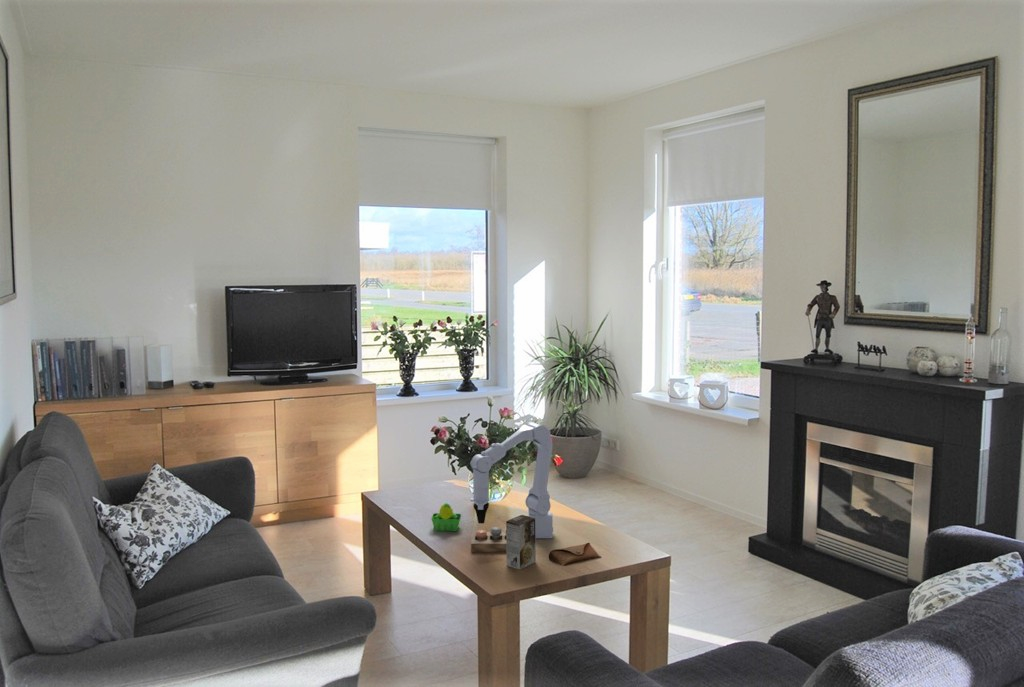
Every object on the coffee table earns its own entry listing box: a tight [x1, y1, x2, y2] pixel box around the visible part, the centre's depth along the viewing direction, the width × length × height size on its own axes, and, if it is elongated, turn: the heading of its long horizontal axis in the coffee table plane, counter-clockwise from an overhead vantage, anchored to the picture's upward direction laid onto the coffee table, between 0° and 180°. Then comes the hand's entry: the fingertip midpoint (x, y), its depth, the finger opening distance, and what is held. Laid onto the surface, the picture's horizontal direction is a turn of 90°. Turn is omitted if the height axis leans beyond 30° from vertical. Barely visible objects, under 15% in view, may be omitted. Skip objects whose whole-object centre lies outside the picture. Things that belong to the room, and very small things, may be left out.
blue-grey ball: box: [490, 526, 502, 540], centre depth 301 cm, size 4×4×4 cm
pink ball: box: [475, 529, 488, 540], centre depth 302 cm, size 4×4×4 cm
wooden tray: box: [470, 531, 506, 553], centre depth 302 cm, size 18×13×3 cm
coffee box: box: [505, 514, 537, 570], centre depth 282 cm, size 9×6×16 cm
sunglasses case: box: [548, 542, 602, 567], centre depth 289 cm, size 18×7×7 cm, turn 122°
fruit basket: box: [430, 502, 462, 532], centre depth 320 cm, size 11×9×11 cm
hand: (481, 522), depth 301 cm, fingers closed
